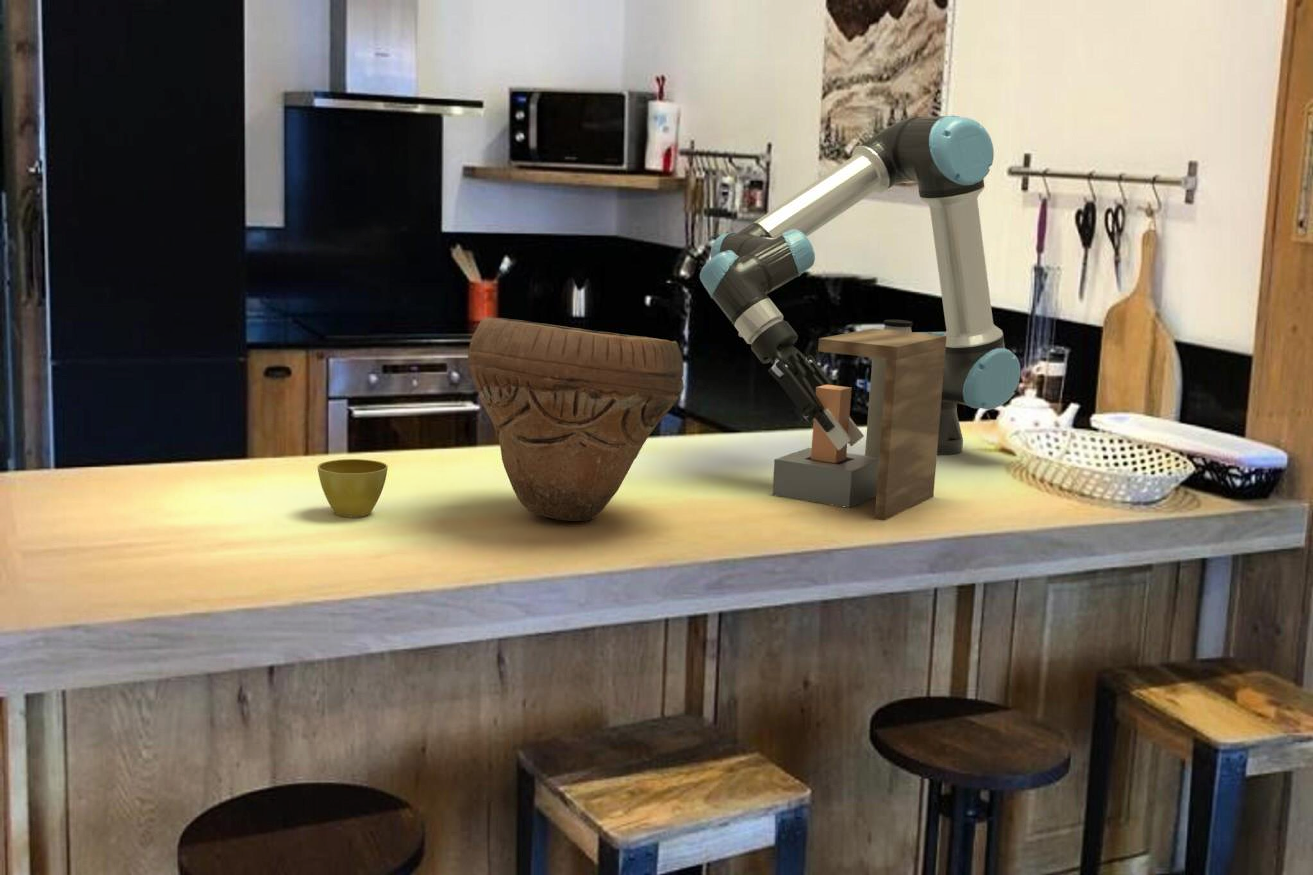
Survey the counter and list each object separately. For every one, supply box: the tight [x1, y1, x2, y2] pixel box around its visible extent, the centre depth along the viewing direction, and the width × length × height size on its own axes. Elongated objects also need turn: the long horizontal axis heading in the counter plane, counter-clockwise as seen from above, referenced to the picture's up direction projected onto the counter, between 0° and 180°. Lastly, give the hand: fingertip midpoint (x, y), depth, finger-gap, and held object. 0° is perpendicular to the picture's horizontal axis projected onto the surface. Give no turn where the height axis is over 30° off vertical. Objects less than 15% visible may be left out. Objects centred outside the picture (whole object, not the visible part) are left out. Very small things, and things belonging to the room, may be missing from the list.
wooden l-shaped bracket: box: [817, 328, 947, 521], centre depth 239 cm, size 13×22×27 cm, turn 150°
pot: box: [467, 316, 685, 522], centre depth 220 cm, size 32×32×30 cm
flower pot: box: [317, 458, 389, 518], centre depth 217 cm, size 10×10×7 cm
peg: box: [811, 384, 852, 463], centre depth 243 cm, size 4×4×12 cm
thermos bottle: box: [864, 319, 914, 458], centre depth 258 cm, size 8×8×28 cm
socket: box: [771, 447, 879, 508], centre depth 245 cm, size 14×14×6 cm
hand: (851, 443), depth 242 cm, fingers closed on peg, 4 cm apart
